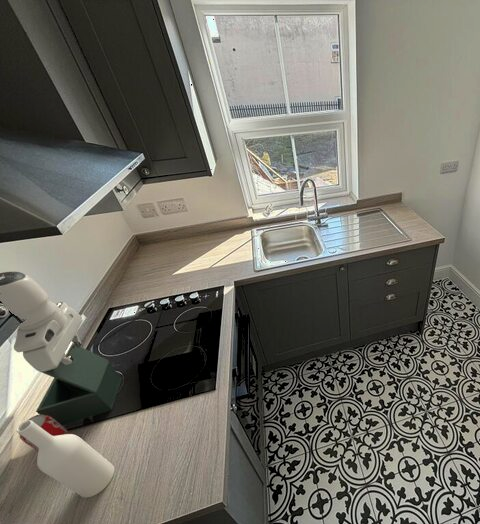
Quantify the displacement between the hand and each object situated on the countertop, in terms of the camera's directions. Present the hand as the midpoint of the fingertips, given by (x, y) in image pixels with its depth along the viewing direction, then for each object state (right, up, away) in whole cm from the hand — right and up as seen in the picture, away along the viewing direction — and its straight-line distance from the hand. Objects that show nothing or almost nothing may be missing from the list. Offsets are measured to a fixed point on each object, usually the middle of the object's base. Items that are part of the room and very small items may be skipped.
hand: (74, 354), depth 88 cm
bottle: (+14, -32, -8) cm, 36 cm away
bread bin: (-5, -20, +11) cm, 23 cm away
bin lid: (-2, -4, +2) cm, 5 cm away
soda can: (-5, -28, 0) cm, 28 cm away
